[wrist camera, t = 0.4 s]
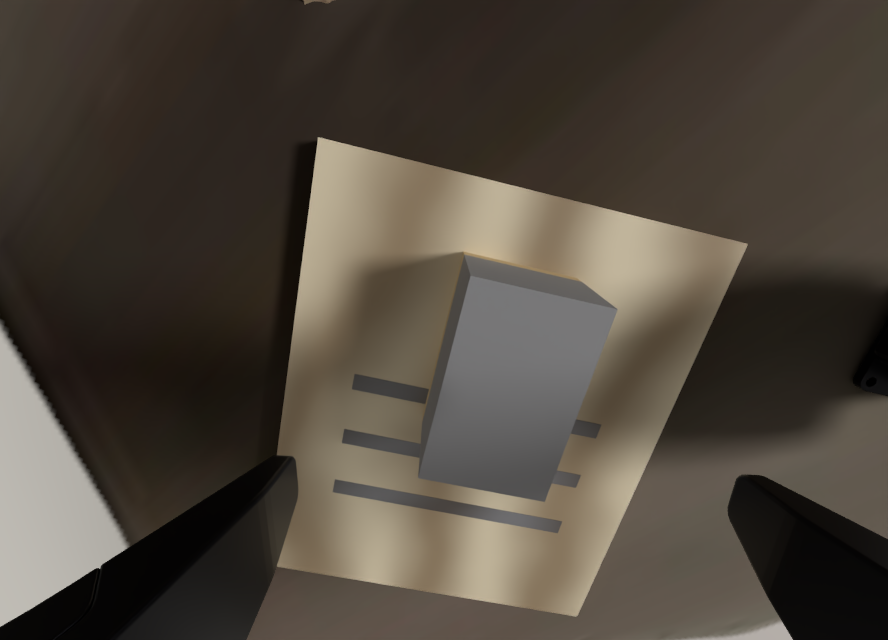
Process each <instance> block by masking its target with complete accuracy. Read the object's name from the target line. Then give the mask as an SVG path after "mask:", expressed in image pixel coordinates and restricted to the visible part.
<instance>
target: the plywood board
mask: <svg viewBox="0 0 888 640" xmlns="http://www.w3.org/2000/svg"><path fill="white" fill-rule="evenodd" d="M747 245H748V244H746V243H742V242H737V241H733V240H729V239H725V238H721V237H717V236H713V235H709V234H705V233H701V232H697V231H693V230H689V229H685V228H681V227H677V226H673V225H669V224H665V223H661V222H657V221H653V220H649V219H645V218H641V217H637V216H633V215H629V214H625V213H621V212H617V211H613V210H609V209H605V208H601V207H597V206H593V205H589V204H585V203H581V202H577V201H573V200H569V199H565V198H561V197H556V196H552V195H548V194H544V193H540V192H536V191H532V190H528V189H524V188H520V187H516V186H512V185H508V184H504V183H500V182H496V181H492V180H488V179H484V178H480V177H476V176H472V175H468V174H464V173H460V172H456V171H452V170H448V169H444V168H440V167H436V166H432V165H428V164H424V163H420V162H416V161H412V160H408V159H404V158H400V157H396V156H392V155H388V154H384V153H380V152H376V151H371V150H367V149H363V148H359V147H355V146H351V145H347V144H343V143H339V142H335V141H331V140H327V139H323V138H319V137H318V143H317V150H316V158H315V166H314V173H313V181H312V189H311V196H310V204H309V212H308V219H307V227H306V235H305V242H304V250H303V258H302V265H301V273H300V281H299V288H298V296H297V304H296V311H295V319H294V327H293V334H292V342H291V350H290V357H289V365H288V373H287V380H286V388H285V396H284V403H283V411H282V419H281V426H280V434H279V442H278V449H277V455H285V456H293V457H294V458H295V460H296V466H297V477H298V489H299V491H298V499H297V503H296V506H295V509H294V513H293V516H292V519H291V522H290V525H289V529H288V532H287V535H286V538H285V542H284V545H283V548H282V551H281V554H280V558H279V561H278V564H277V567H283V568H289V569H295V570H301V571H307V572H313V573H319V574H325V575H331V576H337V577H343V578H349V579H355V580H361V581H367V582H373V583H379V584H385V585H391V586H397V587H403V588H409V589H414V590H420V591H426V592H432V593H438V594H444V595H450V596H456V597H462V598H468V599H474V600H480V601H486V602H492V603H498V604H504V605H510V606H516V607H522V608H528V609H534V610H540V611H546V612H552V613H558V614H564V615H570V616H576V617H577V615H578V613H579V611H580V609H581V607H582V605H583V602H584V600H585V598H586V596H587V594H588V591H589V589H590V587H591V585H592V583H593V581H594V578H595V576H596V574H597V572H598V570H599V567H600V565H601V563H602V561H603V559H604V557H605V554H606V552H607V550H608V548H609V546H610V544H611V541H612V539H613V537H614V535H615V533H616V530H617V528H618V526H619V524H620V522H621V520H622V517H623V515H624V513H625V511H626V509H627V506H628V504H629V502H630V500H631V498H632V496H633V493H634V491H635V489H636V487H637V485H638V483H639V480H640V478H641V476H642V474H643V472H644V469H645V467H646V465H647V463H648V461H649V459H650V456H651V454H652V452H653V450H654V448H655V445H656V443H657V441H658V439H659V437H660V435H661V432H662V430H663V428H664V426H665V424H666V422H667V419H668V417H669V415H670V413H671V411H672V408H673V406H674V404H675V402H676V400H677V398H678V395H679V393H680V391H681V389H682V387H683V384H684V382H685V380H686V378H687V376H688V374H689V371H690V369H691V367H692V365H693V363H694V361H695V358H696V356H697V354H698V352H699V350H700V347H701V345H702V343H703V341H704V339H705V337H706V334H707V332H708V330H709V328H710V326H711V323H712V321H713V319H714V317H715V315H716V313H717V310H718V308H719V306H720V304H721V302H722V300H723V297H724V295H725V293H726V291H727V289H728V286H729V284H730V282H731V280H732V278H733V276H734V273H735V271H736V269H737V267H738V265H739V262H740V260H741V258H742V256H743V254H744V252H745V249H746V247H747ZM463 251H464V252H468V253H472V254H476V255H481V256H485V257H489V258H494V259H498V260H502V261H506V262H511V263H515V264H519V265H523V266H528V267H532V268H536V269H541V270H545V271H549V272H553V273H558V274H562V275H566V276H571V277H575V278H578V279H579V280H580V281H582V282H583V283H584V284H585V285H587V286H588V287H589V288H591V289H592V290H593V291H595V292H596V293H597V294H598V295H600V296H601V297H602V298H604V299H605V300H606V301H608V302H609V303H610V304H611V305H613V306H614V307H615V308H617V309H618V310H617V313H616V315H615V318H614V321H613V323H612V326H611V329H610V331H609V334H608V336H607V339H606V342H605V344H604V347H603V350H602V352H601V355H600V358H599V360H598V363H597V365H596V368H595V371H594V373H593V376H592V379H591V381H590V384H589V387H588V389H587V392H586V394H585V397H584V400H583V402H582V405H581V408H580V410H579V413H578V416H577V418H576V421H575V423H574V426H573V429H572V431H571V434H570V437H569V439H568V442H567V445H566V447H565V450H564V452H563V455H562V458H561V460H560V463H559V466H558V468H557V471H556V473H555V476H554V479H553V481H552V484H551V487H550V489H549V492H548V495H547V497H546V500H545V502H542V501H537V500H531V499H526V498H521V497H515V496H510V495H505V494H499V493H494V492H489V491H483V490H478V489H473V488H468V487H462V486H457V485H452V484H446V483H441V482H436V481H430V480H425V479H420V478H418V472H419V458H420V444H421V430H422V417H423V412H424V408H425V404H426V400H427V395H428V391H429V387H430V383H431V379H432V375H433V371H434V367H435V363H436V359H437V355H438V351H439V347H440V343H441V339H442V335H443V331H444V327H445V323H446V319H447V315H448V311H449V307H450V303H451V299H452V295H453V291H454V287H455V283H456V279H457V275H458V271H459V267H460V263H461V259H462V255H463Z"/></svg>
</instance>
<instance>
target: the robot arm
mask: <svg viewBox="0 0 888 640" xmlns="http://www.w3.org/2000/svg"><path fill="white" fill-rule="evenodd" d="M853 383H854V385H855V386H857V387H859V388H861V389H863V390H865V391H868V392H872V393H877V394H881V395H886V396H888V321H887V323H886V324H885V326H884V328H883V329H882V331H881V333H880V334H879V336H878V338H877V339H876V341H875V343H874V344H873V346H872V348H871V349H870V351H869V353H868V354H867V356H866V358H865V359H864V361H863V363H862V364H861V366H860V368H859V370H858V371H857V373H856V375H855V376H854V379H853ZM298 491H299V489H298V477H297V466H296V460H295V458H294V457H293V456H285V455H274V456H272V457H270V458H269V459H267V460H265V461H264V462H262V463H261V464H259V465H258V466H256V467H254V468H253V469H251V470H250V471H248V472H247V473H245V474H244V475H242V476H240V477H239V478H237V479H236V480H234V481H233V482H231V483H229V484H228V485H226V486H225V487H223V488H222V489H220V490H218V491H217V492H215V493H214V494H212V495H211V496H209V497H207V498H206V499H204V500H203V501H201V502H200V503H198V504H196V505H195V506H193V507H192V508H190V509H189V510H187V511H186V512H184V513H182V514H181V515H179V516H178V517H176V518H175V519H173V520H171V521H170V522H168V523H167V524H165V525H164V526H162V527H160V528H159V529H157V530H156V531H154V532H153V533H151V534H149V535H148V536H146V537H145V538H143V539H142V540H140V541H138V542H137V543H135V544H134V545H132V546H131V547H129V548H127V549H126V550H124V551H123V552H121V553H120V554H118V555H116V556H115V557H113V558H112V559H110V560H109V561H107V562H105V563H104V564H103V565H102V566H101V568H100V569H99V568H96V569H94V570H93V571H91V572H90V573H88V574H86V575H85V576H84V577H82V578H80V579H79V580H77V581H76V582H74V583H72V584H71V585H69V586H68V587H66V588H64V589H63V590H61V591H59V592H58V593H56V594H55V595H53V596H52V597H50V598H48V599H46V600H45V601H43V602H42V603H40V604H38V605H37V606H35V607H34V608H32V609H30V610H29V611H27V612H25V613H24V614H22V615H20V616H18V617H17V618H15V619H13V620H11V621H10V622H8V623H6V624H4V625H3V626H1V627H0V640H246V639H247V637H248V635H249V632H250V630H251V628H252V625H253V623H254V621H255V618H256V616H257V614H258V611H259V609H260V607H261V604H262V602H263V600H264V597H265V595H266V593H267V590H268V588H269V586H270V583H271V581H272V578H273V576H274V573H275V570H276V567H277V564H278V561H279V558H280V554H281V551H282V548H283V545H284V542H285V538H286V535H287V532H288V529H289V525H290V522H291V519H292V516H293V513H294V509H295V506H296V503H297V499H298ZM728 516H729V519H730V522H731V524H732V526H733V528H734V530H735V532H736V534H737V536H738V538H739V540H740V542H741V544H742V546H743V548H744V550H745V552H746V555H747V557H748V559H749V561H750V563H751V565H752V567H753V569H754V571H755V573H756V575H757V577H758V579H759V581H760V583H761V585H762V587H763V589H764V591H765V593H766V595H767V596H768V598H769V600H770V602H771V603H772V605H773V607H774V609H775V610H776V612H777V614H778V615H779V617H780V619H781V620H782V622H783V624H784V625H785V627H786V629H787V630H788V632H789V634H790V635H791V637H792V639H793V640H888V539H886V538H884V537H882V536H880V535H878V534H876V533H874V532H872V531H870V530H869V529H867V528H865V527H863V526H861V525H859V524H857V523H855V522H853V521H851V520H849V519H847V518H845V517H843V516H841V515H839V514H837V513H835V512H833V511H831V510H829V509H827V508H825V507H823V506H821V505H819V504H817V503H815V502H813V501H812V500H810V499H808V498H806V497H804V496H802V495H800V494H798V493H796V492H794V491H792V490H790V489H788V488H786V487H784V486H782V485H780V484H778V483H776V482H774V481H772V480H770V479H768V478H766V477H764V476H761V475H740V476H739V477H738V478H737V479H736V481H735V485H734V488H733V491H732V494H731V498H730V501H729V504H728Z"/></svg>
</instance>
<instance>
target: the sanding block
mask: <svg viewBox="0 0 888 640" xmlns="http://www.w3.org/2000/svg"><path fill="white" fill-rule="evenodd" d="M617 310H618V309H617V308H615V307H614V306H613V305H611V304H610V303H609V302H608V301H606V300H605V299H604V298H602V297H601V296H600V295H598V294H597V293H596V292H595V291H593V290H592V289H591V288H589V287H588V286H587V285H585V284H584V283H583V282H582V281H580V280H579V279H578V278H575V277H571V276H566V275H562V274H558V273H553V272H549V271H545V270H541V269H536V268H532V267H528V266H523V265H519V264H515V263H511V262H506V261H502V260H498V259H494V258H489V257H485V256H481V255H476V254H472V253H468V252H464V251H463V255H462V259H461V263H460V267H459V271H458V275H457V279H456V283H455V287H454V291H453V295H452V299H451V303H450V307H449V311H448V315H447V319H446V323H445V327H444V331H443V335H442V339H441V343H440V347H439V351H438V355H437V359H436V363H435V367H434V371H433V375H432V379H431V383H430V387H429V391H428V395H427V400H426V404H425V408H424V412H423V417H422V430H421V444H420V458H419V472H418V478H420V479H425V480H430V481H436V482H441V483H446V484H452V485H457V486H462V487H468V488H473V489H478V490H483V491H489V492H494V493H499V494H505V495H510V496H515V497H521V498H526V499H531V500H537V501H542V502H545V500H546V497H547V495H548V492H549V489H550V487H551V484H552V481H553V479H554V476H555V473H556V471H557V468H558V466H559V463H560V460H561V458H562V455H563V452H564V450H565V447H566V445H567V442H568V439H569V437H570V434H571V431H572V429H573V426H574V423H575V421H576V418H577V416H578V413H579V410H580V408H581V405H582V402H583V400H584V397H585V394H586V392H587V389H588V387H589V384H590V381H591V379H592V376H593V373H594V371H595V368H596V365H597V363H598V360H599V358H600V355H601V352H602V350H603V347H604V344H605V342H606V339H607V336H608V334H609V331H610V329H611V326H612V323H613V321H614V318H615V315H616V313H617Z"/></svg>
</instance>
